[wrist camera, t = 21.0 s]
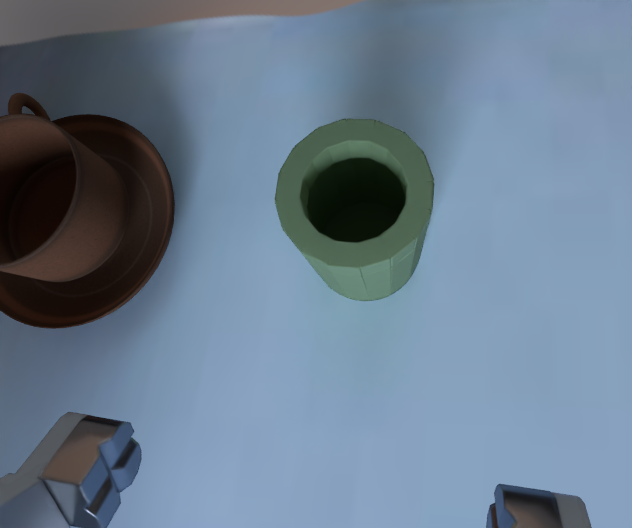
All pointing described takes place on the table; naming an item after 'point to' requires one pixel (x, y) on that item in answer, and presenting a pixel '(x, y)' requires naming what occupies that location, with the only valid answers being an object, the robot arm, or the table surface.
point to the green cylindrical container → (357, 205)
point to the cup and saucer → (77, 215)
